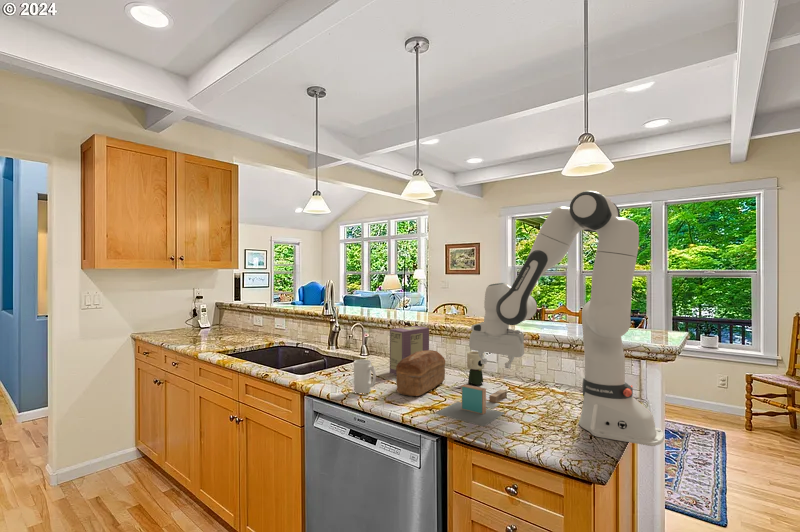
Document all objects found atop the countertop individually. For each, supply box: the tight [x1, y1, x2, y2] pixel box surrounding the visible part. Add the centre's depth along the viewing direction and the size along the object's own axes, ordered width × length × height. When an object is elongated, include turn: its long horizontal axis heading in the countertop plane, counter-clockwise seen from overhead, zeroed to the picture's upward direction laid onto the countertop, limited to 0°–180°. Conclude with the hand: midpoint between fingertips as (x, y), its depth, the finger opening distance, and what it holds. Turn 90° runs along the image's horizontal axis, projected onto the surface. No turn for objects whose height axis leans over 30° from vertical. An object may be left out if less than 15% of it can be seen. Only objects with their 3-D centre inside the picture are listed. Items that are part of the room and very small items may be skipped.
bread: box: [395, 349, 446, 397], centre depth 166 cm, size 12×28×14 cm, turn 151°
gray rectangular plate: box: [434, 401, 506, 427], centre depth 136 cm, size 18×15×1 cm
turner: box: [486, 389, 508, 410], centre depth 148 cm, size 15×6×3 cm, turn 141°
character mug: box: [466, 350, 486, 386], centre depth 172 cm, size 11×7×13 cm, turn 145°
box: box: [389, 325, 430, 375], centre depth 193 cm, size 17×9×20 cm, turn 133°
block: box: [461, 384, 487, 414], centre depth 138 cm, size 8×2×8 cm, turn 51°
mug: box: [353, 358, 377, 394], centre depth 160 cm, size 10×7×12 cm, turn 53°
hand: (495, 365), depth 150 cm, fingers open, 8 cm apart
